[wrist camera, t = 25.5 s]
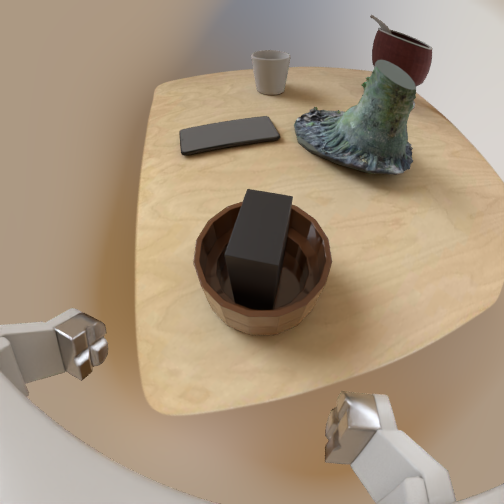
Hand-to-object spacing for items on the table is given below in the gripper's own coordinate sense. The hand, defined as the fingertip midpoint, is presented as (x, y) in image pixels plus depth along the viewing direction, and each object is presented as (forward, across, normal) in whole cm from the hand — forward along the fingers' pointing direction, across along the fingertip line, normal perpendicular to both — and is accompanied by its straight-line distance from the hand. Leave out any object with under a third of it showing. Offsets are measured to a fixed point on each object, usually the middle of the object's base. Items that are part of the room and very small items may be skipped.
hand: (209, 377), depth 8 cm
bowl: (+19, +1, +4) cm, 19 cm away
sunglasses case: (+18, +1, +3) cm, 19 cm away
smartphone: (+35, +12, -13) cm, 39 cm away
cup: (+50, +9, -27) cm, 57 cm away
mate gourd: (+57, -18, -34) cm, 69 cm away
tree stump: (+38, -8, -15) cm, 42 cm away
